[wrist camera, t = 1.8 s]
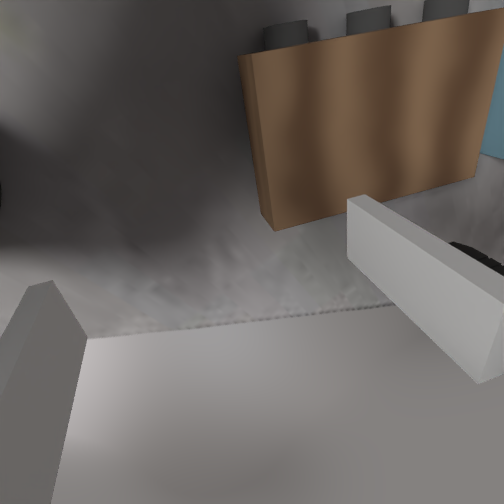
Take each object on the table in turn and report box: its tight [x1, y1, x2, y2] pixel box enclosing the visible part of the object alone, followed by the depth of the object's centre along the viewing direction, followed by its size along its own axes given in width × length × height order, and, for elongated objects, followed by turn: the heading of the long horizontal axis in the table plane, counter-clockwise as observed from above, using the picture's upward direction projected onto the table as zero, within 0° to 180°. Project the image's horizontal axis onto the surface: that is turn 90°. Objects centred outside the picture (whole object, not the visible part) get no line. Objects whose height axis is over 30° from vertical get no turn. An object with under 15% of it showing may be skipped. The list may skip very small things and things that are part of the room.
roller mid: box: [346, 5, 391, 36], centre depth 31 cm, size 16×4×4 cm
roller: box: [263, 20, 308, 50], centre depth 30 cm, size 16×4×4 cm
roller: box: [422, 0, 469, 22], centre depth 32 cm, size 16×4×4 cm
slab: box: [237, 8, 504, 231], centre depth 27 cm, size 20×13×4 cm, turn 99°
